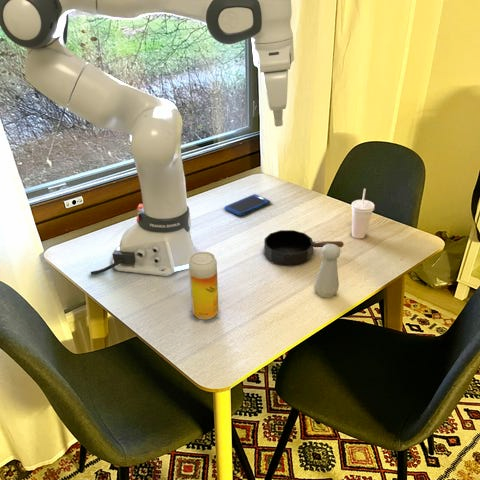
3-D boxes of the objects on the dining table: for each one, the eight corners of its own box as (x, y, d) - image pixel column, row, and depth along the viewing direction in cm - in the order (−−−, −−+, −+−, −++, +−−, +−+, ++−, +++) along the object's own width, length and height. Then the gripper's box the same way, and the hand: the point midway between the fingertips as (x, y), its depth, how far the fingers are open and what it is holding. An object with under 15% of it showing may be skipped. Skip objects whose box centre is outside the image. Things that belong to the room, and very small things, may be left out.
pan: (265, 266, 137) (265, 254, 135) (263, 241, 147) (263, 230, 145) (346, 266, 137) (347, 254, 134) (339, 241, 147) (340, 230, 145)
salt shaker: (336, 301, 124) (343, 254, 116) (312, 298, 125) (317, 252, 117) (338, 287, 129) (344, 241, 121) (315, 285, 130) (319, 239, 122)
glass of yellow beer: (220, 319, 119) (218, 263, 110) (194, 322, 118) (190, 266, 109) (216, 303, 124) (213, 249, 114) (190, 307, 123) (186, 252, 114)
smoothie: (367, 229, 152) (374, 184, 144) (371, 240, 147) (379, 194, 139) (345, 230, 152) (351, 185, 143) (349, 241, 147) (356, 194, 138)
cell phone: (270, 202, 166) (270, 200, 166) (239, 216, 159) (239, 214, 158) (254, 195, 171) (254, 193, 170) (223, 209, 163) (223, 206, 163)
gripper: (258, 46, 121) (263, 107, 130) (259, 66, 105) (265, 134, 113) (285, 43, 121) (289, 105, 129) (290, 62, 104) (294, 131, 113)
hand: (278, 119), depth 121 cm, fingers open, 8 cm apart
